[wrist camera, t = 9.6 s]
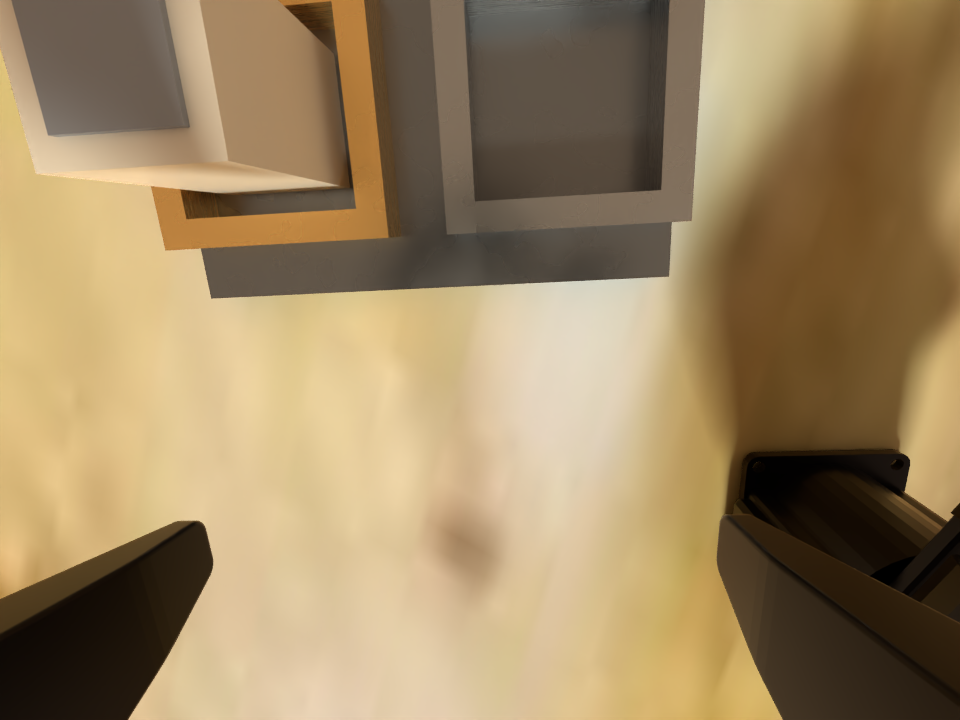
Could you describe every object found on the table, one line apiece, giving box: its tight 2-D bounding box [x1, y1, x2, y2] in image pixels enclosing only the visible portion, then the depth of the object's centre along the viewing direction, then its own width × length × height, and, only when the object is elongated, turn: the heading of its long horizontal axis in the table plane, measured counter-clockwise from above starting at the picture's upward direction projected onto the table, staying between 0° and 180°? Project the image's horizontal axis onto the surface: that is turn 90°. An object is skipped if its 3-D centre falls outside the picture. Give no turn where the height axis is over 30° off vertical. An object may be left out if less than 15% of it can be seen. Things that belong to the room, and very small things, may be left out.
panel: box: [151, 0, 705, 298], centre depth 17 cm, size 18×12×3 cm, turn 93°
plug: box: [0, 0, 350, 195], centre depth 14 cm, size 4×4×8 cm
